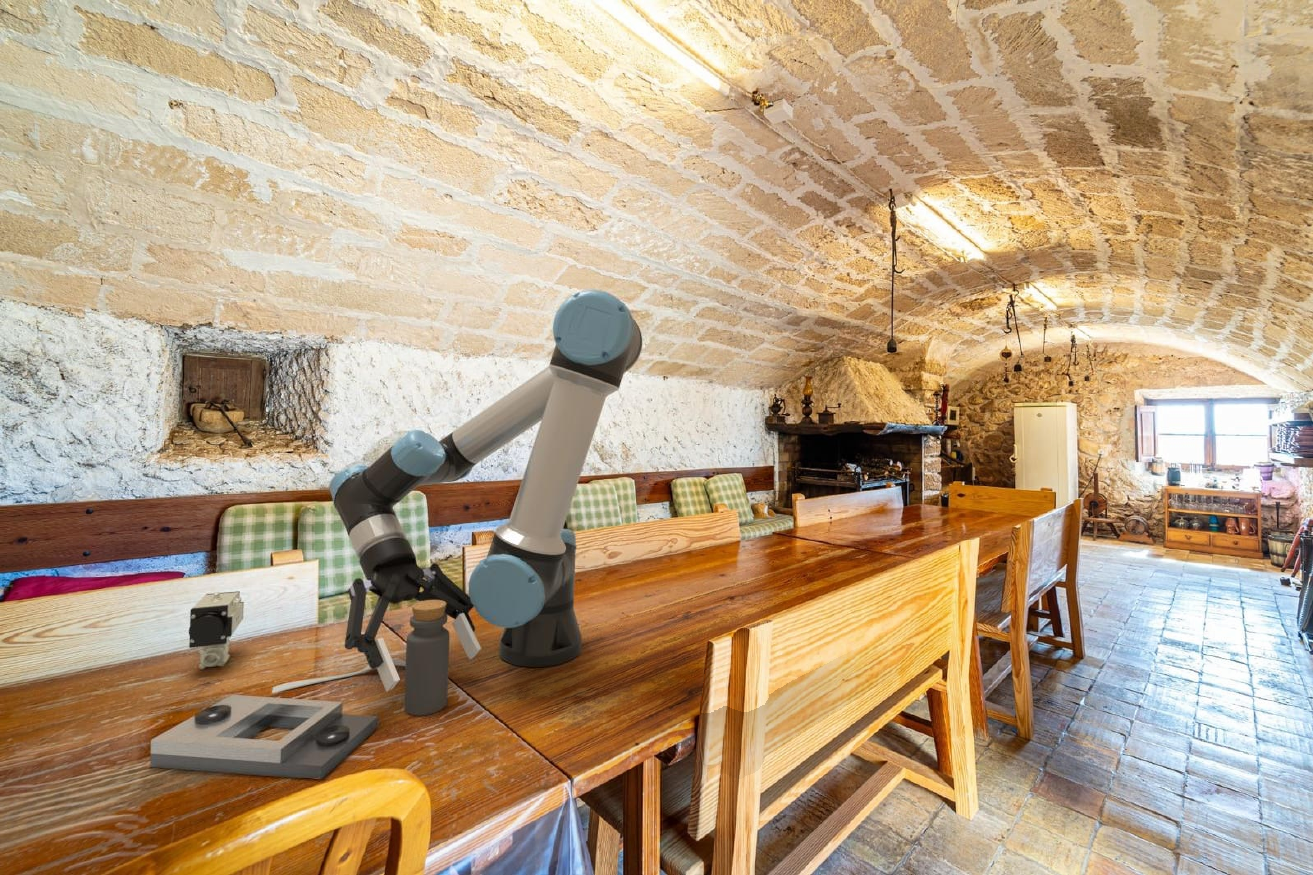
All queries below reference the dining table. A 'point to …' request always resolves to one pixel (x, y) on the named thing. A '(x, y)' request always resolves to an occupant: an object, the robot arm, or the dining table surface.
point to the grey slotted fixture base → (226, 745)
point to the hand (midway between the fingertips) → (437, 669)
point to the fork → (325, 678)
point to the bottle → (427, 659)
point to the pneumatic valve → (215, 626)
